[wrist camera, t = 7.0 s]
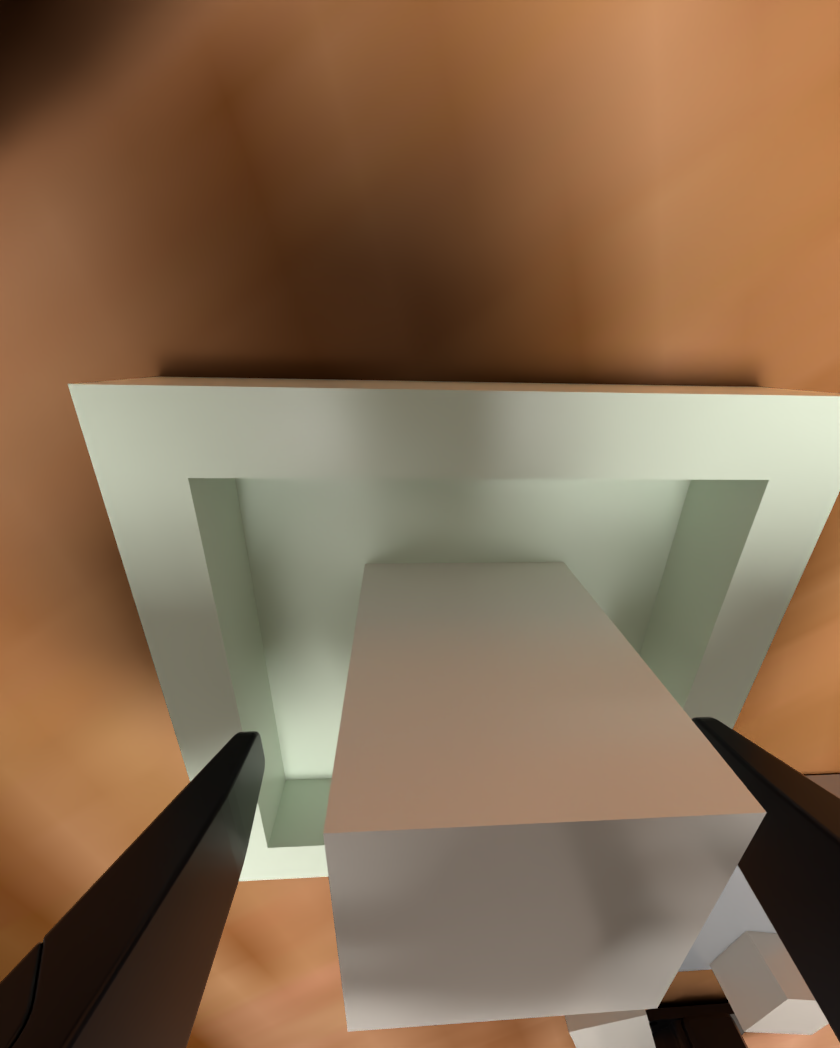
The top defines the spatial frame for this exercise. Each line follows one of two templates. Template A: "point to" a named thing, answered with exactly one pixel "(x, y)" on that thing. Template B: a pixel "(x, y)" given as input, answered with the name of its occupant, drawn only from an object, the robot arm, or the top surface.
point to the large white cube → (515, 805)
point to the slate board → (728, 973)
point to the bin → (439, 537)
